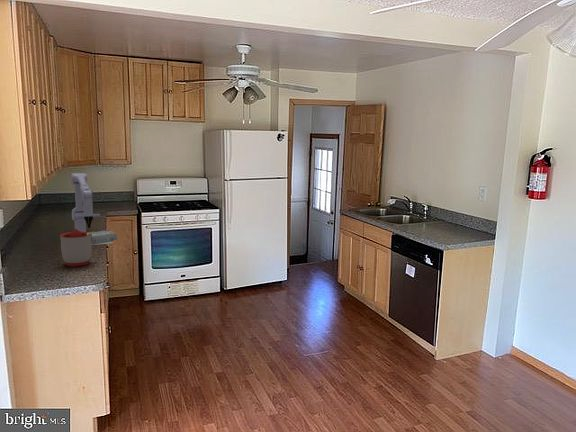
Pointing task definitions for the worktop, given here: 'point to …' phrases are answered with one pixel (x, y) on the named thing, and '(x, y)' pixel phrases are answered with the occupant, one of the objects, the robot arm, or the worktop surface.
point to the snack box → (102, 236)
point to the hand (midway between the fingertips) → (89, 227)
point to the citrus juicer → (76, 248)
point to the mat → (103, 243)
